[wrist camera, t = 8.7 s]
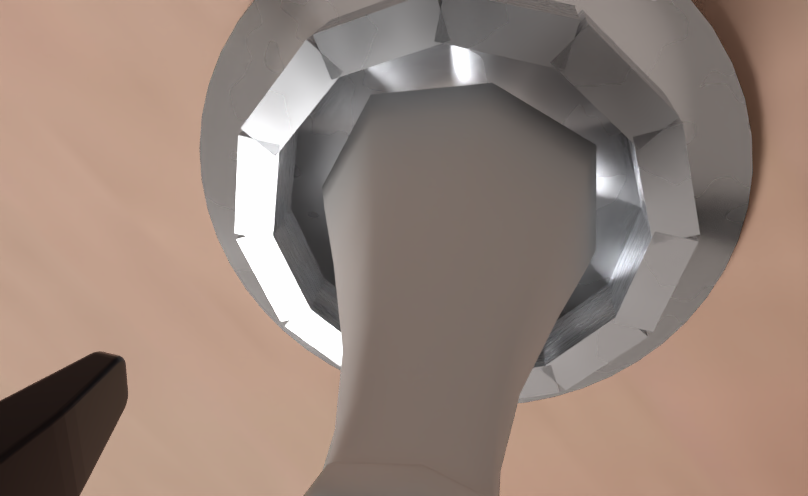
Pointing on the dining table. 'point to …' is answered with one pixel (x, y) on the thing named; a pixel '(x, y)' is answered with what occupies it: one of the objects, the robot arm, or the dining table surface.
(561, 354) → the duct flange
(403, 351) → the flask
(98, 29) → the dining table surface
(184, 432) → the dining table surface
